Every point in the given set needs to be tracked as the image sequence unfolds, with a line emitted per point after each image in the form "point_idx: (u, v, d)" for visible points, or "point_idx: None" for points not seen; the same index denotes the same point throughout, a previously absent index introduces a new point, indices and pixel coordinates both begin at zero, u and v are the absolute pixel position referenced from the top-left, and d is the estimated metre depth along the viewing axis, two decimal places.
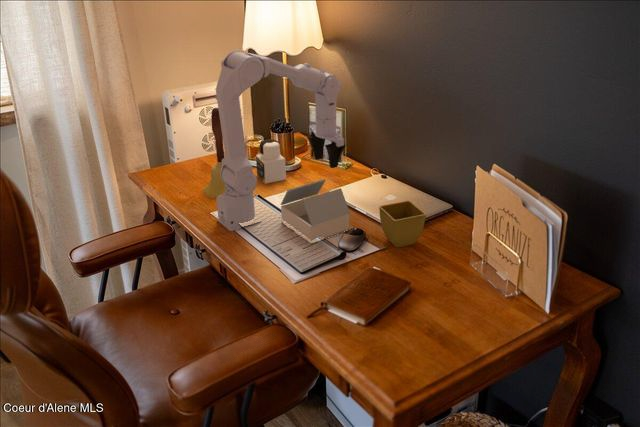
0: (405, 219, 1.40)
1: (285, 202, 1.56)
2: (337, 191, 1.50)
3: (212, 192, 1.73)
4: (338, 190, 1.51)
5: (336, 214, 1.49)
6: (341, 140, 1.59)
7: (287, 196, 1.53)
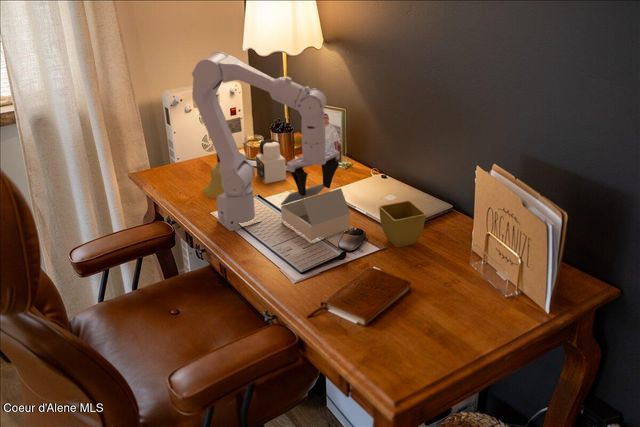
0: (405, 219, 1.40)
1: (285, 203, 1.56)
2: (337, 191, 1.50)
3: (212, 192, 1.73)
4: (338, 190, 1.51)
5: (336, 214, 1.49)
6: (289, 165, 1.43)
7: (288, 198, 1.53)
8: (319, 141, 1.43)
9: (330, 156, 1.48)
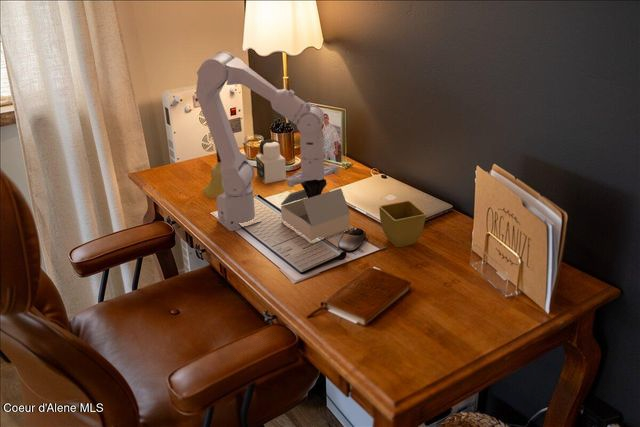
0: (405, 219, 1.40)
1: (285, 203, 1.56)
2: (337, 191, 1.50)
3: (212, 192, 1.73)
4: (338, 190, 1.51)
5: (336, 214, 1.49)
6: (288, 180, 1.46)
7: (288, 198, 1.53)
8: (318, 157, 1.45)
9: (329, 171, 1.50)
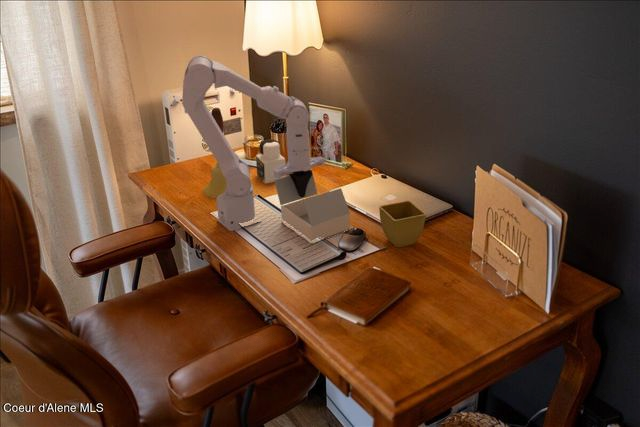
0: (405, 219, 1.40)
1: (283, 200, 1.56)
2: (337, 191, 1.50)
3: (212, 192, 1.73)
4: (338, 190, 1.51)
5: (336, 214, 1.49)
6: (275, 172, 1.51)
7: (279, 189, 1.56)
8: (306, 147, 1.51)
9: (315, 162, 1.55)
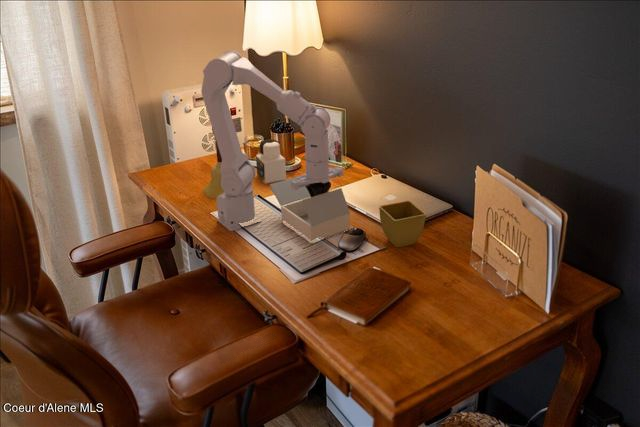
0: (405, 219, 1.40)
1: (282, 201, 1.57)
2: (337, 191, 1.50)
3: (212, 192, 1.73)
4: (338, 190, 1.51)
5: (336, 214, 1.49)
6: (293, 183, 1.44)
7: (276, 192, 1.58)
8: (322, 159, 1.43)
9: (333, 173, 1.48)
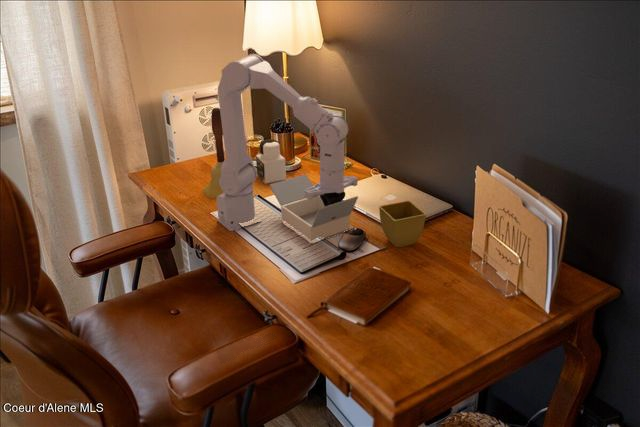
0: (405, 219, 1.40)
1: (282, 201, 1.57)
2: (352, 200, 1.46)
3: (212, 192, 1.73)
4: (354, 199, 1.46)
5: (338, 217, 1.48)
6: (307, 193, 1.40)
7: (276, 192, 1.58)
8: (336, 169, 1.39)
9: (348, 183, 1.44)
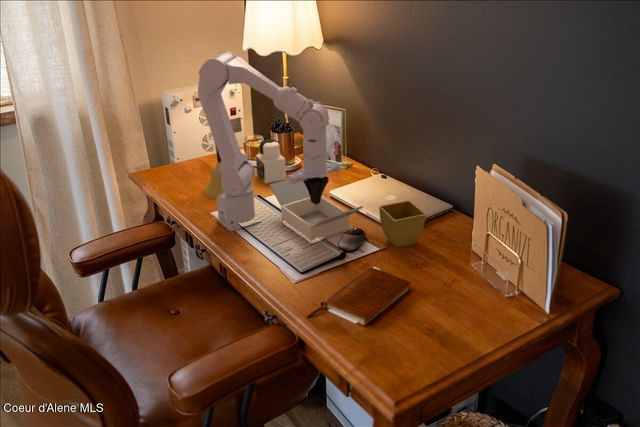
0: (405, 219, 1.40)
1: (282, 201, 1.57)
2: (357, 209, 1.45)
3: (212, 192, 1.73)
4: (359, 208, 1.45)
5: (339, 218, 1.48)
6: (290, 177, 1.44)
7: (276, 192, 1.58)
8: (320, 154, 1.44)
9: (331, 169, 1.49)
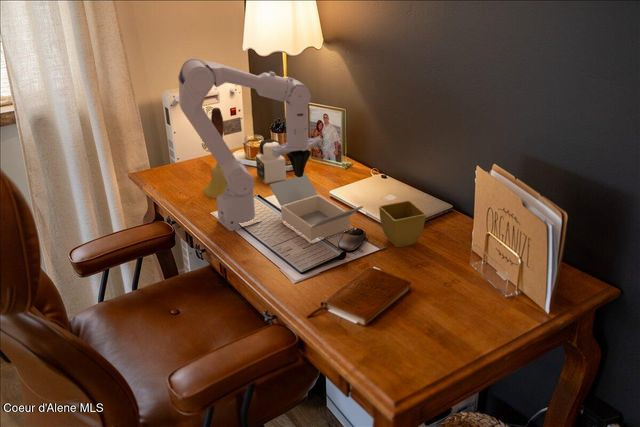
0: (405, 219, 1.40)
1: (282, 201, 1.57)
2: (357, 209, 1.45)
3: (212, 192, 1.73)
4: (359, 208, 1.45)
5: (339, 218, 1.48)
6: (274, 150, 1.52)
7: (276, 192, 1.58)
8: (306, 126, 1.52)
9: (313, 143, 1.56)
